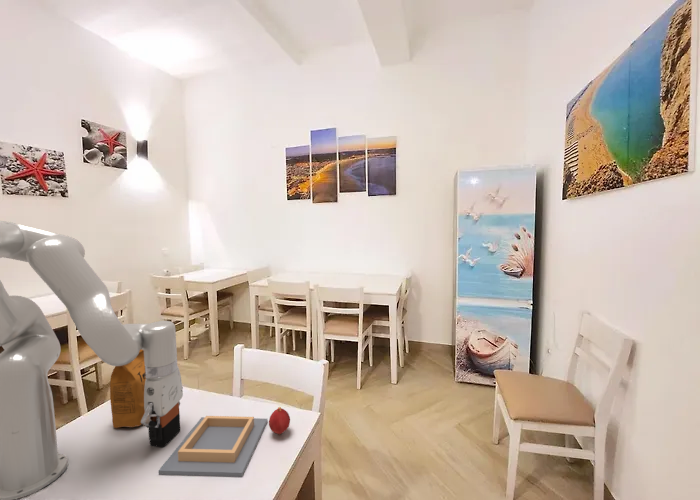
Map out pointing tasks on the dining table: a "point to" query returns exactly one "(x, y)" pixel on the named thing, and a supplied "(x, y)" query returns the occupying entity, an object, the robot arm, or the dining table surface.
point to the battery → (168, 426)
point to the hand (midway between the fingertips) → (165, 429)
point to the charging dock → (216, 447)
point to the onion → (279, 421)
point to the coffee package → (128, 393)
